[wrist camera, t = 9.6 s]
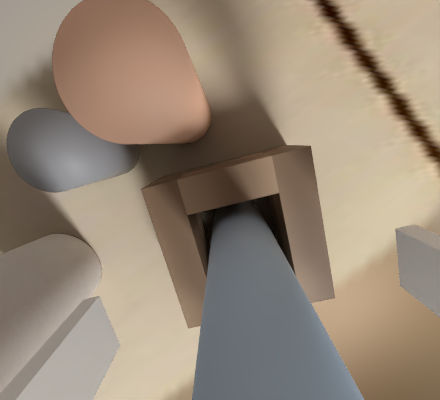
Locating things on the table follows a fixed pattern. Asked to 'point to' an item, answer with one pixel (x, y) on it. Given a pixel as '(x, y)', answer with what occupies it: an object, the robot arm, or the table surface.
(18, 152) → the short dowel
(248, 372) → the tall dowel
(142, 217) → the table surface
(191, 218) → the socket block
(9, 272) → the coffee cup
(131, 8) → the medium dowel
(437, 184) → the table surface
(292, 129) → the table surface
